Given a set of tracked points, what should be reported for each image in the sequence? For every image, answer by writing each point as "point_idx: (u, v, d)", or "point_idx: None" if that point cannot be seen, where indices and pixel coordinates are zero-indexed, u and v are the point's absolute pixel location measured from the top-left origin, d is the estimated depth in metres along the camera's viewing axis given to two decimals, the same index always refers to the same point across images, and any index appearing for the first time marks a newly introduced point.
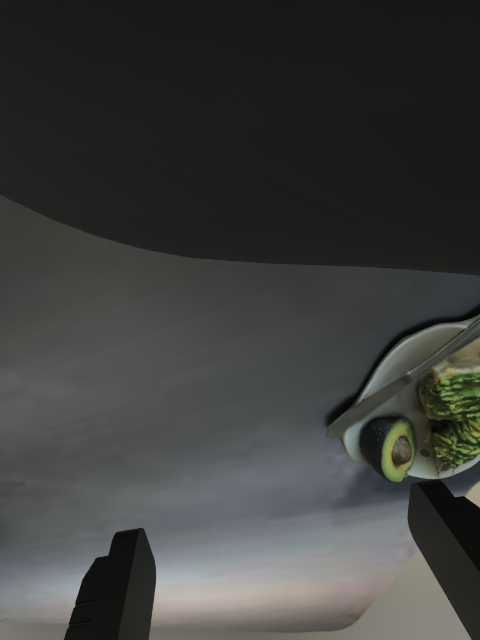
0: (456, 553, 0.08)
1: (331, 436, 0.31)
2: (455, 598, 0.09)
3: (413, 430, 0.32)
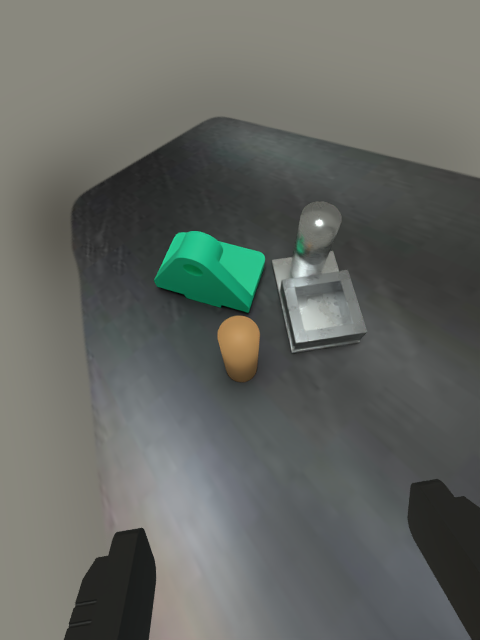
0: (456, 553, 0.08)
1: None
2: (455, 598, 0.09)
3: None
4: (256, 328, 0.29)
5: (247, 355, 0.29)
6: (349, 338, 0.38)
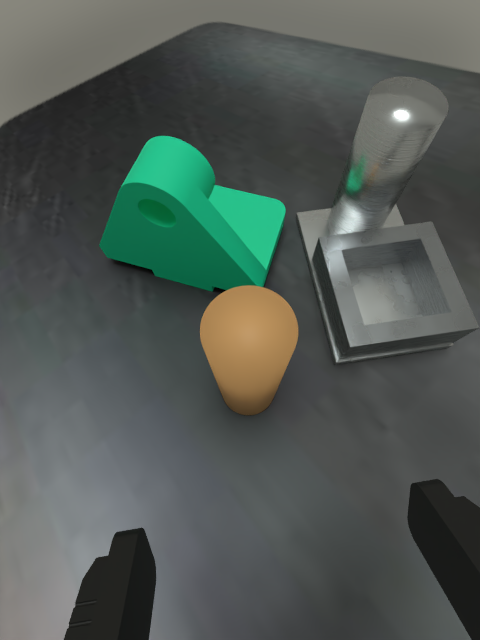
0: (456, 553, 0.08)
1: None
2: (455, 598, 0.09)
3: None
4: (290, 314, 0.13)
5: (269, 376, 0.12)
6: (440, 340, 0.21)
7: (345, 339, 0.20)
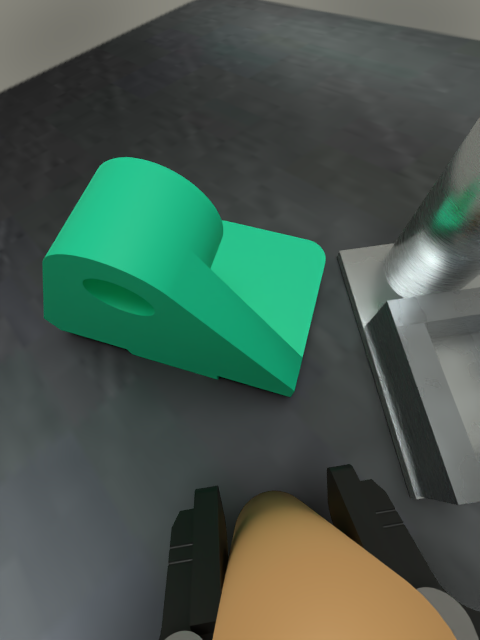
0: (351, 528, 0.09)
1: None
2: None
3: None
4: None
5: None
6: None
7: (445, 484, 0.12)
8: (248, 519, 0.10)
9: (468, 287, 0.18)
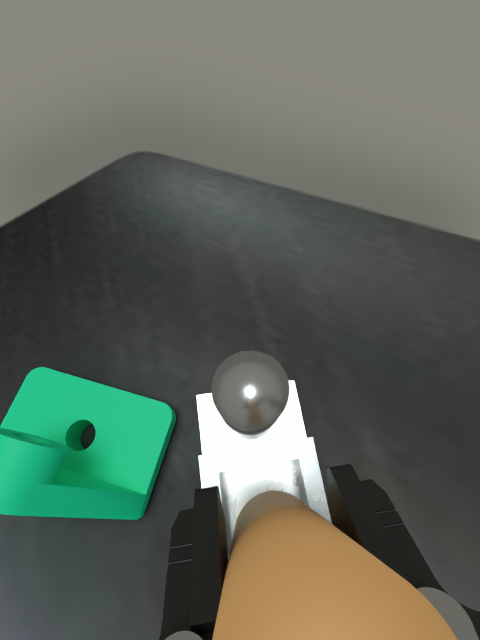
0: (351, 528, 0.09)
1: None
2: None
3: None
4: None
5: None
6: None
7: None
8: (248, 519, 0.10)
9: (279, 425, 0.26)
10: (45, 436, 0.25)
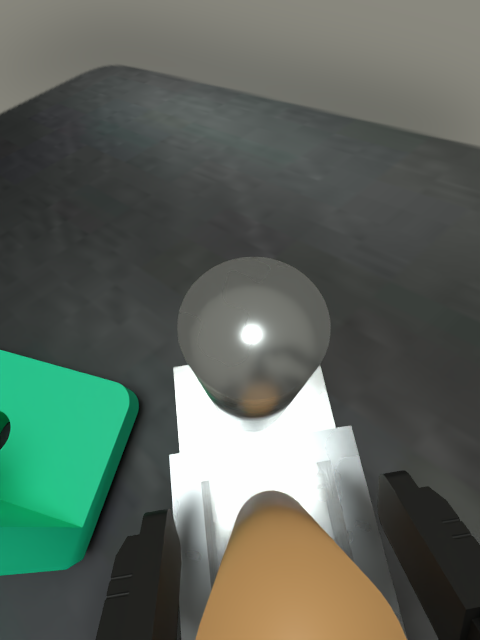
0: (416, 539, 0.09)
1: None
2: (416, 582, 0.09)
3: None
4: (394, 632, 0.06)
5: None
6: None
7: None
8: (243, 517, 0.12)
9: (294, 411, 0.18)
10: None
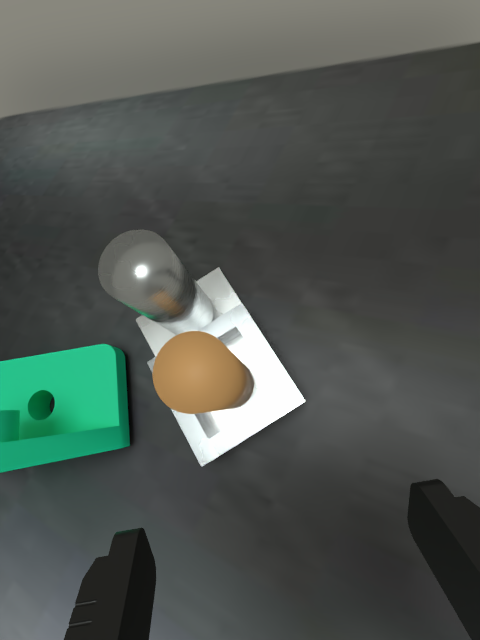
0: (456, 553, 0.08)
1: None
2: (455, 598, 0.08)
3: None
4: (219, 344, 0.15)
5: (224, 399, 0.15)
6: None
7: None
8: None
9: (219, 312, 0.27)
10: None
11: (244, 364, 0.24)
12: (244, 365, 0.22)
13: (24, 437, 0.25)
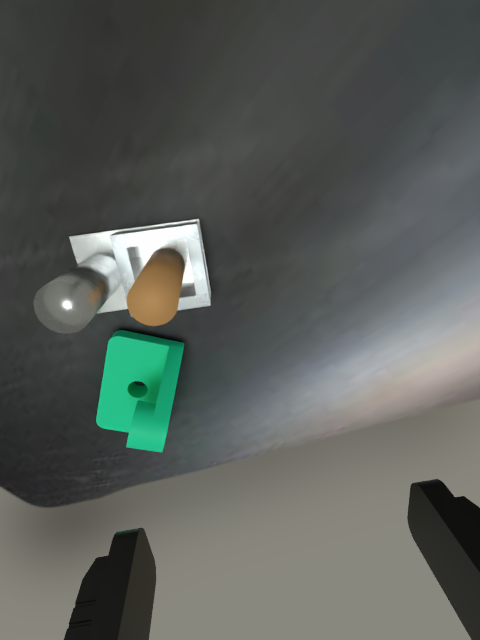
0: (456, 553, 0.08)
1: None
2: (455, 598, 0.09)
3: None
4: (141, 282, 0.24)
5: (175, 289, 0.25)
6: (200, 238, 0.32)
7: None
8: None
9: (109, 251, 0.33)
10: None
11: (156, 252, 0.32)
12: (158, 256, 0.30)
13: (154, 402, 0.38)
